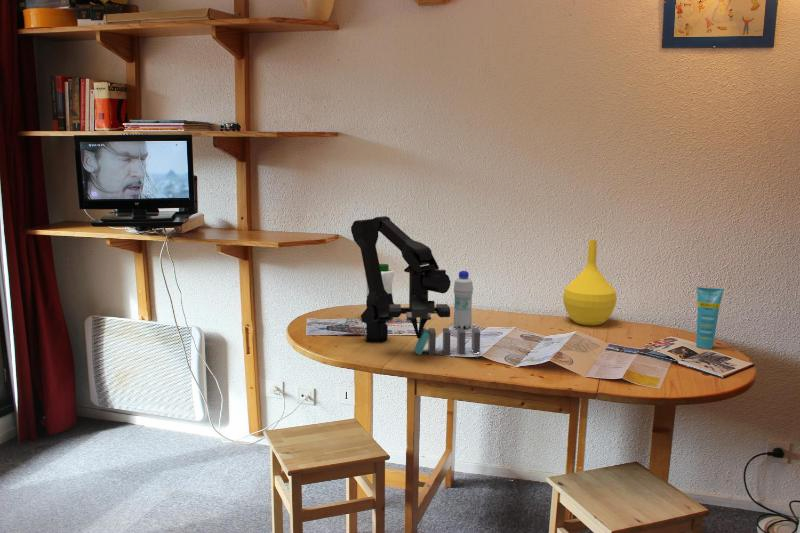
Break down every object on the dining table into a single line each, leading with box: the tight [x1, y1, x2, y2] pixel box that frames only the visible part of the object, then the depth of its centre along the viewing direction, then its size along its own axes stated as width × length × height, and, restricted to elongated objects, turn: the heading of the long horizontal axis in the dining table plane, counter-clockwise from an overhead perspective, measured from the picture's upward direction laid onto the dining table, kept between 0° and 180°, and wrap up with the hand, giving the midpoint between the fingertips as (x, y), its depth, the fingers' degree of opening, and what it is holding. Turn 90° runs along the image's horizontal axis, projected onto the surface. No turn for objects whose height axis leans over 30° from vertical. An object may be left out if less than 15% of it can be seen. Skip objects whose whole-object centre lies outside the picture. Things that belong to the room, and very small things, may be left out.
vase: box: [562, 238, 617, 327], centre depth 240 cm, size 18×18×30 cm
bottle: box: [453, 270, 474, 330], centre depth 233 cm, size 7×7×20 cm
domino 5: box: [471, 327, 481, 353], centre depth 207 cm, size 2×5×7 cm, turn 2°
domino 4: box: [456, 327, 466, 355], centre depth 207 cm, size 2×5×7 cm, turn 2°
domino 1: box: [413, 327, 430, 356], centre depth 206 cm, size 2×5×7 cm, turn 2°
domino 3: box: [442, 327, 451, 356], centre depth 207 cm, size 2×5×7 cm, turn 2°
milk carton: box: [363, 263, 395, 322], centre depth 242 cm, size 9×9×20 cm
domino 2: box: [427, 327, 437, 356], centre depth 206 cm, size 2×5×7 cm, turn 2°
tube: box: [695, 286, 724, 350], centre depth 212 cm, size 7×5×19 cm, turn 73°
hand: (418, 338), depth 206 cm, fingers closed
